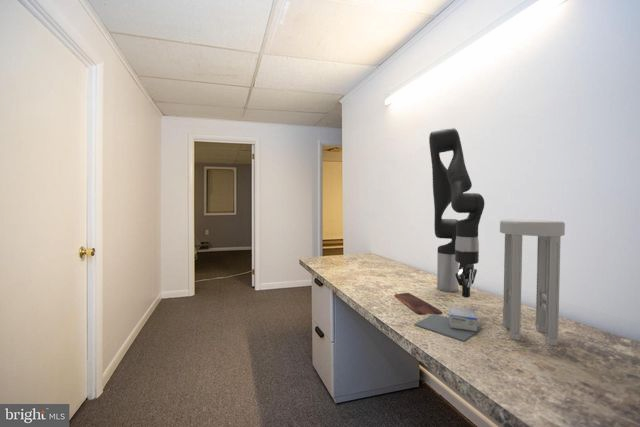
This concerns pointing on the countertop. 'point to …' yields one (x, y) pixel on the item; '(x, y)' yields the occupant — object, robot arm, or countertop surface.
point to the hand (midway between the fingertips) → (466, 296)
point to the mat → (445, 327)
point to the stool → (546, 275)
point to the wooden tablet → (417, 304)
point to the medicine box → (463, 318)
